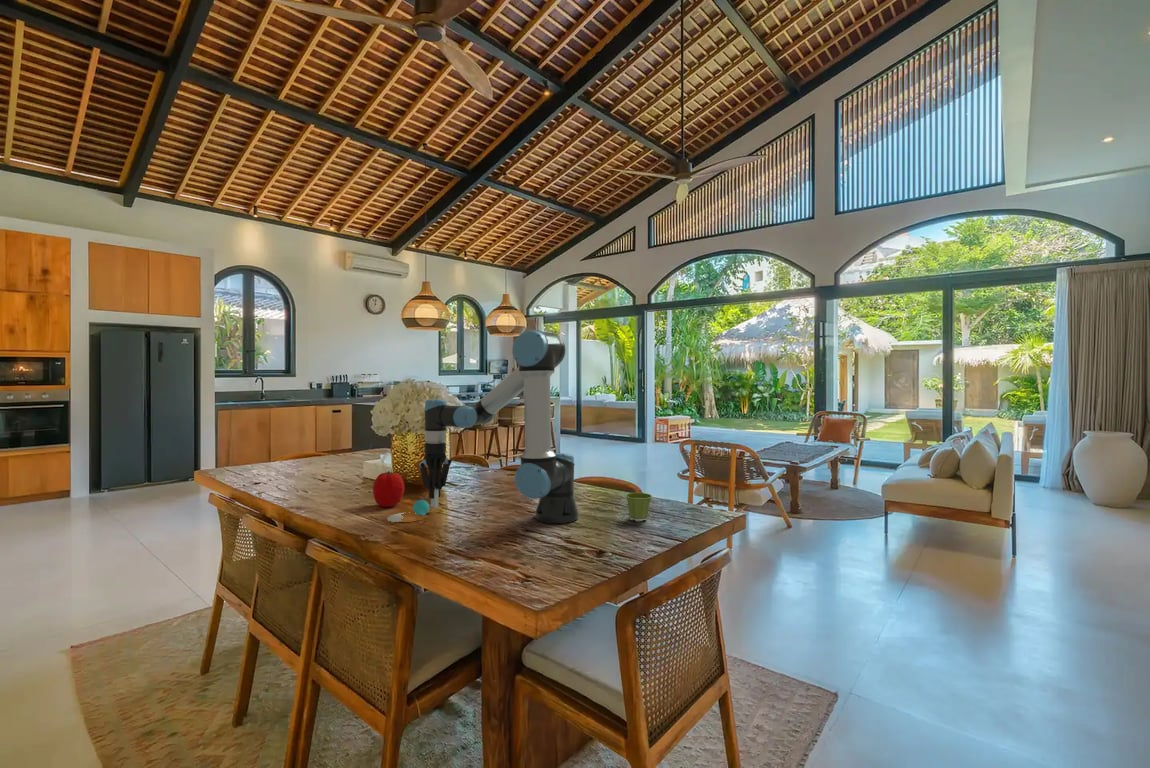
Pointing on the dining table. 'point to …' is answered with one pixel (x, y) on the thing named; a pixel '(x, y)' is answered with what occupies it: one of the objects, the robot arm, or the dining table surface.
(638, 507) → the plant pot
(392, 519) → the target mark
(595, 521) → the dining table surface
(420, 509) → the ball
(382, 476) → the tomato
